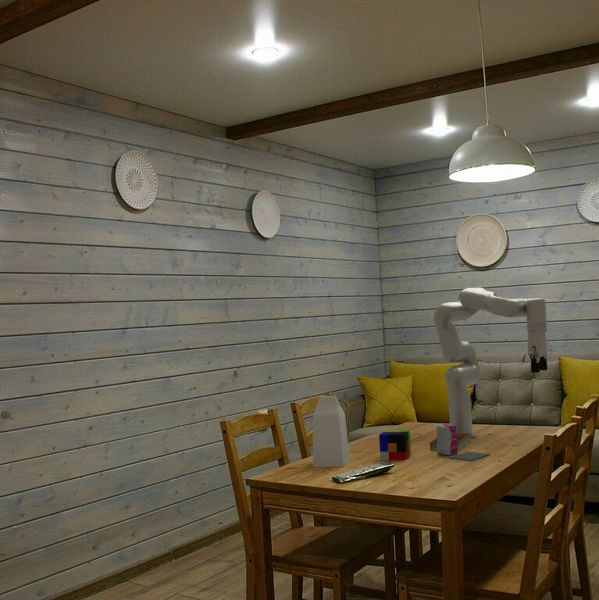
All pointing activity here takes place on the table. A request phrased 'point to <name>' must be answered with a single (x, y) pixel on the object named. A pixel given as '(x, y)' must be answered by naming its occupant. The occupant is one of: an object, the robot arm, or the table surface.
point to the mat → (469, 456)
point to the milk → (329, 434)
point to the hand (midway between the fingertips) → (539, 371)
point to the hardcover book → (461, 441)
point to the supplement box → (446, 440)
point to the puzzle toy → (395, 445)
